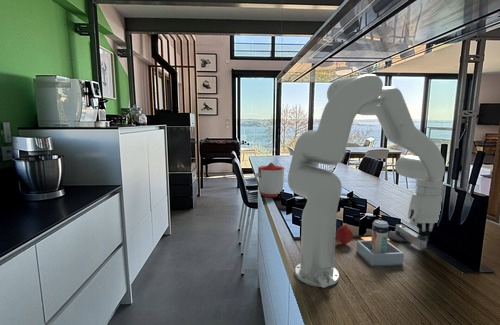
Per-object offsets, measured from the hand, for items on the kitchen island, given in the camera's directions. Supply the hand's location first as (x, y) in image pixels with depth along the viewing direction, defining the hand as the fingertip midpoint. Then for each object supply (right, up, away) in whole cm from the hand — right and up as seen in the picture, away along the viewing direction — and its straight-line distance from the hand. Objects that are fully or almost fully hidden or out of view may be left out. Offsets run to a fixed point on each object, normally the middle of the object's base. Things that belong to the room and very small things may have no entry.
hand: (423, 240), depth 101 cm
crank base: (-9, -2, +8) cm, 12 cm away
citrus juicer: (-50, +8, +70) cm, 86 cm away
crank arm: (-3, 0, +2) cm, 4 cm away
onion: (-28, -2, +3) cm, 28 cm away
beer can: (-20, -4, -7) cm, 21 cm away
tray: (-19, -4, -7) cm, 21 cm away
